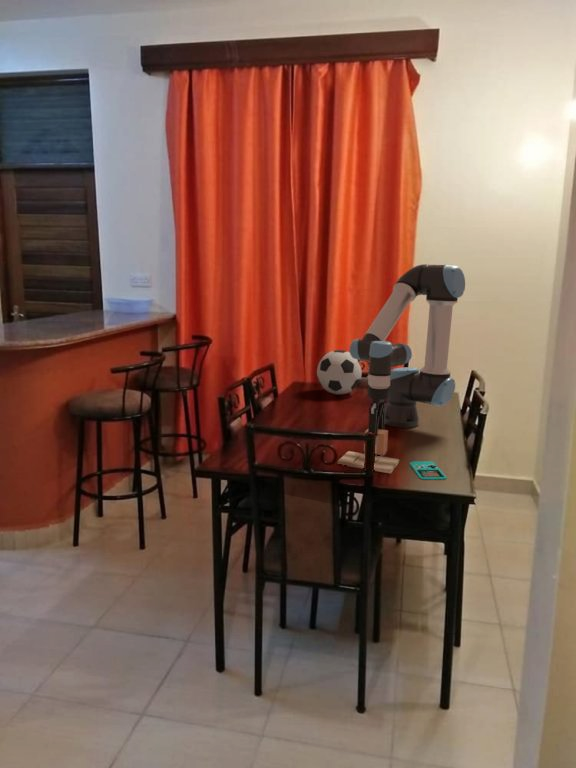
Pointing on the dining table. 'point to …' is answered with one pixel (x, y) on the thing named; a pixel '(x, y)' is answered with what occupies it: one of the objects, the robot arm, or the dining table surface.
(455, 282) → the robot arm
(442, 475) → the handheld gaming console
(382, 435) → the block
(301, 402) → the dining table surface
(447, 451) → the dining table surface
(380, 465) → the board
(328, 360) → the soccer ball
